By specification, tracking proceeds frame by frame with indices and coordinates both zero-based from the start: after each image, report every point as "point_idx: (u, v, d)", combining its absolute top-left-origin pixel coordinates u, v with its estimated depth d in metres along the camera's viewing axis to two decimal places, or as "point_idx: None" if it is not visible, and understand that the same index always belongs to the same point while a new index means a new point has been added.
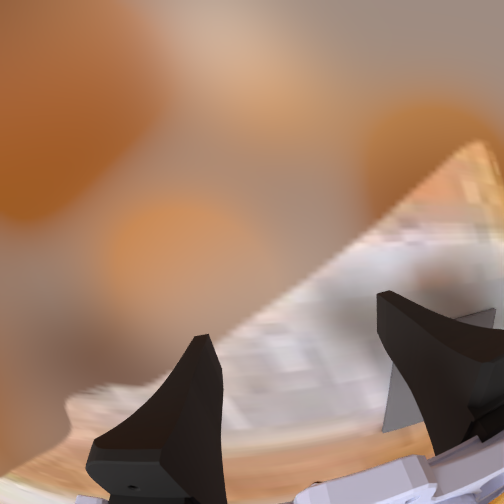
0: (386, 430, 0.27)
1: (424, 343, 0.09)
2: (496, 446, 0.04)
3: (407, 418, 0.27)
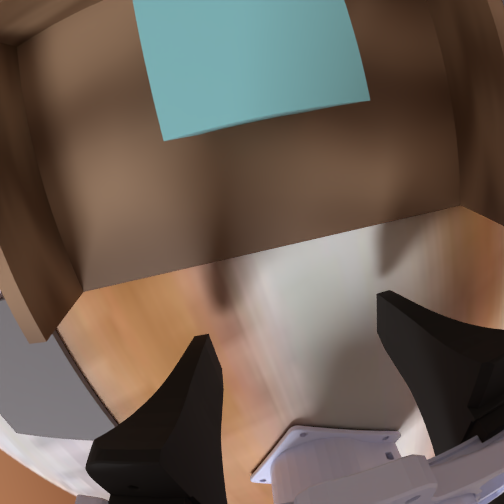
0: None
1: (424, 343, 0.09)
2: (496, 446, 0.04)
3: (91, 418, 0.17)
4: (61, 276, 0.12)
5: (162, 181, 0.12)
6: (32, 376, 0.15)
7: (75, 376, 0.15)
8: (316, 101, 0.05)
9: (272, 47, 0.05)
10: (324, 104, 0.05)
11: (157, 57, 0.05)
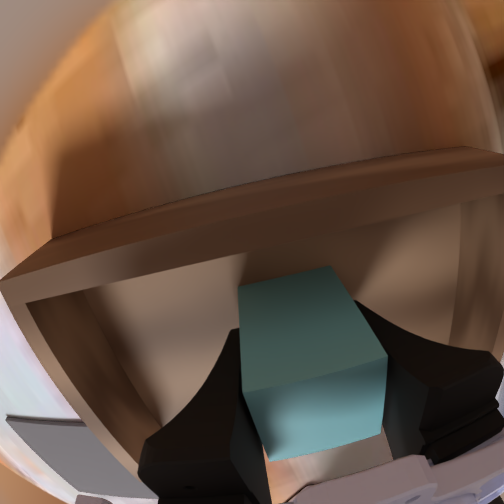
0: None
1: None
2: (497, 446, 0.04)
3: None
4: (152, 433, 0.15)
5: None
6: (107, 465, 0.19)
7: None
8: (351, 441, 0.09)
9: (334, 428, 0.09)
10: (355, 440, 0.09)
11: (268, 437, 0.09)
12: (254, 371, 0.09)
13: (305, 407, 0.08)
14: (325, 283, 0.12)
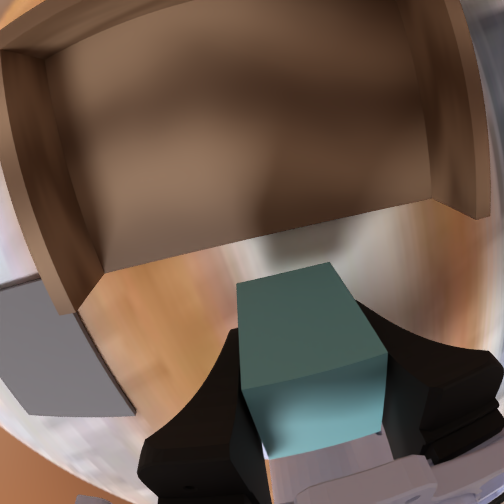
0: (129, 413, 0.20)
1: None
2: (496, 446, 0.04)
3: (104, 393, 0.19)
4: (87, 259, 0.14)
5: (175, 179, 0.14)
6: (50, 355, 0.18)
7: (91, 352, 0.18)
8: (351, 439, 0.09)
9: (334, 425, 0.09)
10: (354, 438, 0.09)
11: (267, 435, 0.09)
12: (253, 368, 0.08)
13: (304, 404, 0.08)
14: (324, 280, 0.12)
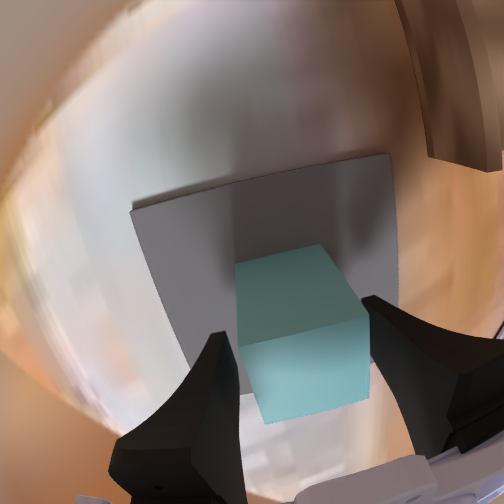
0: None
1: (405, 350, 0.09)
2: (496, 446, 0.04)
3: None
4: None
5: None
6: None
7: (394, 264, 0.15)
8: (341, 404, 0.10)
9: (323, 388, 0.10)
10: (345, 404, 0.10)
11: (262, 396, 0.10)
12: (248, 329, 0.10)
13: (295, 363, 0.09)
14: (315, 258, 0.13)
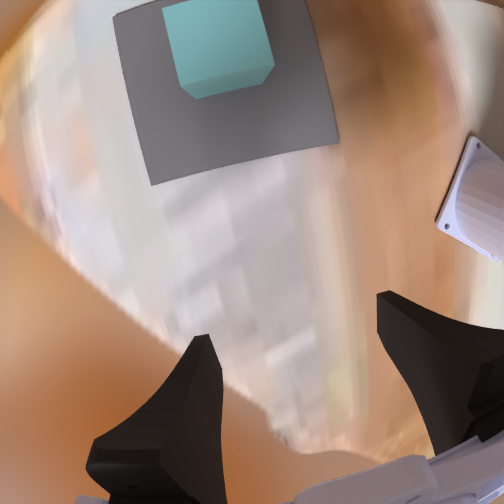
0: (333, 138, 0.19)
1: (424, 343, 0.09)
2: (496, 446, 0.04)
3: (311, 105, 0.18)
4: None
5: None
6: None
7: (314, 46, 0.16)
8: (248, 67, 0.12)
9: (228, 45, 0.11)
10: (252, 68, 0.12)
11: (177, 51, 0.11)
12: None
13: (201, 19, 0.11)
14: None
